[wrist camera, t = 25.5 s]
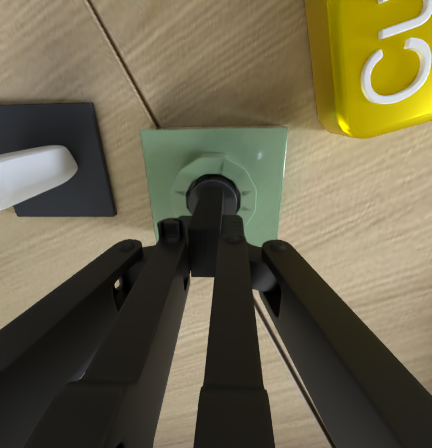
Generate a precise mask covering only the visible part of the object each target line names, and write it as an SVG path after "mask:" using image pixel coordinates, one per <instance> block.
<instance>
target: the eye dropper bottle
mask: <svg viewBox="0 0 432 448" xmlns="http://www.w3.org/2000/svg"><path fill="white" fill-rule="evenodd" d="M77 170H78V166H77V163H76V162H75V160H74V158H73V156H72V155H71V153H70V152H69V150H68V149H67V148H66V147H64V146H61V145H48V146H42V147H37V148H31V149H26V150H21V151H16V152H10V153H5V154H0V211H2V210H4V209H6V208H8V207H11V206H13V205H15V204H18V203H20V202H22V201H25V200H27V199H29V198H31V197H34V196H36V195H38V194H41V193H43V192H45V191H47V190H50V189H52V188H54V187H57V186H59V185H61V184H63V183H65V182H66V181H68V180H69V179H70V178H71V177H72V176H73V175H74V174H75V173H76V172H77Z"/></svg>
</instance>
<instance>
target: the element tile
mask: <svg viewBox="0 0 432 448" xmlns="http://www.w3.org/2000/svg"><path fill="white" fill-rule="evenodd" d="M305 9H306V18H307V27H308V36H309V45H310V54H311V62H312V71H313V80H314V89H315V98H316V107H317V114H318V118H319V121H320V123H321V124H322V126H323V127H324V129H326V130H327V131H329V132H330V133H334V134H338V135H342V136H347V137H351V138H359V139H367V138H372V137H375V136H379V135H383V134H386V133H390V132H393V131H397V130H401V129H404V128H408V127H411V126H415V125H419V124H422V123H426V122H429V121H432V0H305Z"/></svg>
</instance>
